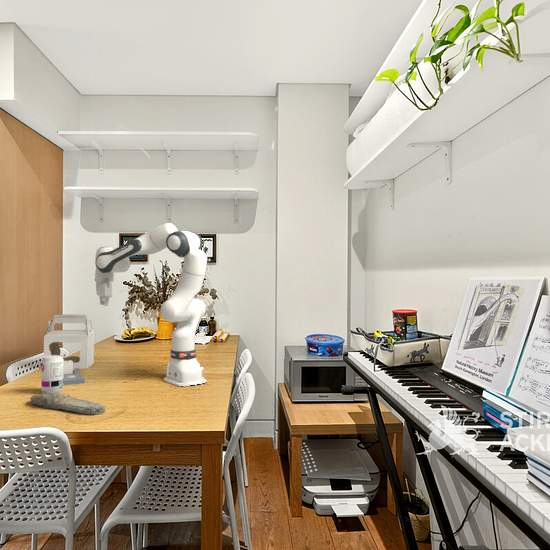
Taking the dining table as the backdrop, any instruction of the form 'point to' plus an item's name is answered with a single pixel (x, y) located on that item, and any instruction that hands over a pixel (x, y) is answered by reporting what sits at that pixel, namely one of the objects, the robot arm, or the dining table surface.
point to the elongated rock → (67, 403)
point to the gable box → (71, 340)
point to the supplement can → (52, 374)
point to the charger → (68, 367)
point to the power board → (73, 378)
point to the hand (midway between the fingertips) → (103, 305)
